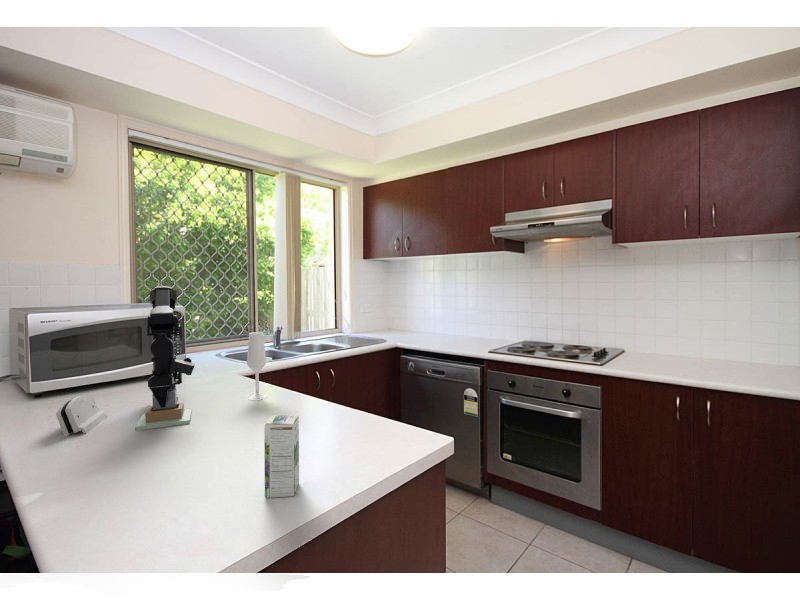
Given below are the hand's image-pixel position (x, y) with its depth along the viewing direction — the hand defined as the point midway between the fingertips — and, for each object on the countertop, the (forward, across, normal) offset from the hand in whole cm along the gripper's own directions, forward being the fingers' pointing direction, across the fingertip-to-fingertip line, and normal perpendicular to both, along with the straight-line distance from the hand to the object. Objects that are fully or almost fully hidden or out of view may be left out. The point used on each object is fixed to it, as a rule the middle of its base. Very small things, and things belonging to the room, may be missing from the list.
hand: (165, 403), depth 127 cm
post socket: (+5, 0, 0) cm, 5 cm away
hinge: (+6, +5, +22) cm, 23 cm away
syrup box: (+5, -60, -27) cm, 66 cm away
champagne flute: (+6, +14, -28) cm, 32 cm away
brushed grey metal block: (+4, 0, 0) cm, 4 cm away
